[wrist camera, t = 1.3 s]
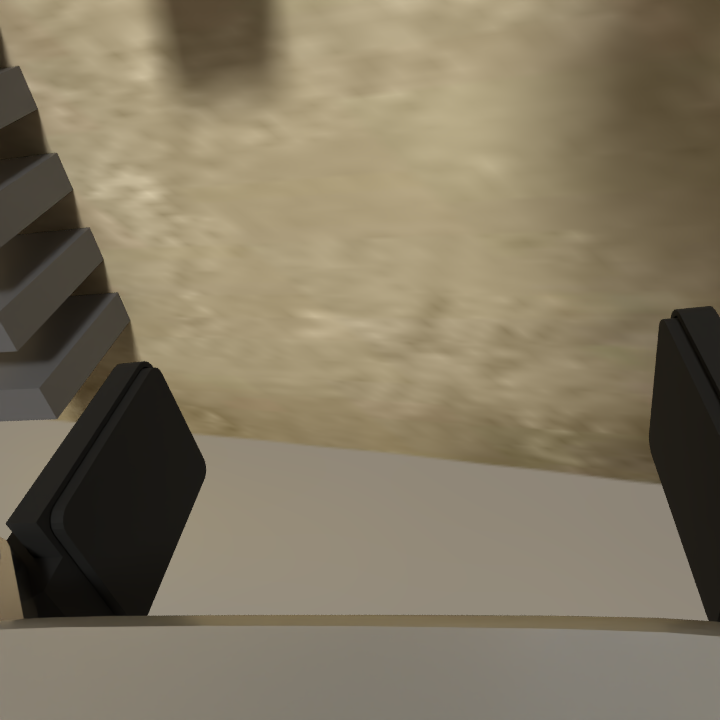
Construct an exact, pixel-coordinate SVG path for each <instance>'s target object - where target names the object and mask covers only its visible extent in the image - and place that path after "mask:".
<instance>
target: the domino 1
mask: <svg viewBox="0 0 720 720" xmlns="http://www.w3.org/2000/svg"><path fill="white" fill-rule="evenodd" d="M37 109H38V108H37V106H36V104H35V101H34V99H33V97H32V95H31V92H30V90H29V88H28V85H27V83H26V81H25V79H24V76H23V74H22V72H21V69H20V67H19V66H15V67H8V68H2V69H0V129H1V128H3V127H5V126H7V125H9V124H10V123H12V122H14V121H16V120H18V119H20V118H22V117H24V116H25V115H27V114H29V113H31V112H33V111H35V110H37Z"/></svg>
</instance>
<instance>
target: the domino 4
mask: <svg viewBox="0 0 720 720" xmlns="http://www.w3.org/2000/svg"><path fill="white" fill-rule="evenodd" d="M129 321H130V319H129V317H128V314H127V312H126V310H125V307H124V305H123V303H122V301H121V298H120V296H119V294H118V292H117V293H105V294H92V295H79V296H69V297H68V298H67V299H66V300H65V301H64V302H63V303H62V304H61V305H60V306H59V308H58V309H57V310H56V311H55V312H54V313H53V314H52V315H51V316H50V317H49V318H48V319H47V320H46V321H45V322H44V323H43V325H42V326H41V327H40V328H39V329H38V330H37V331H36V332H35V333H34V334H33V335H32V336H31V337H30V338H29V339H28V341H27V342H26V343H25V344H24V345H23V346H22V347H21V348H20V349H19V350H18V351H14V352H0V421H19V420H20V421H21V420H46V419H57V418H58V417H59V416H60V414H61V413H62V412H63V410H64V409H65V408H66V406H67V405H68V404H69V402H70V401H71V400H72V398H73V397H74V396H75V394H76V393H77V391H78V390H79V389H80V387H81V386H82V385H83V383H84V382H85V381H86V379H87V378H88V377H89V375H90V374H91V373H92V371H93V370H94V369H95V367H96V366H97V365H98V363H99V362H100V360H101V359H102V358H103V356H104V355H105V354H106V352H107V351H108V350H109V348H110V347H111V346H112V344H113V343H114V342H115V340H116V339H117V338H118V336H119V335H120V334H121V332H122V331H123V329H124V328H125V327H126V325H127V324H128V323H129Z"/></svg>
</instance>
